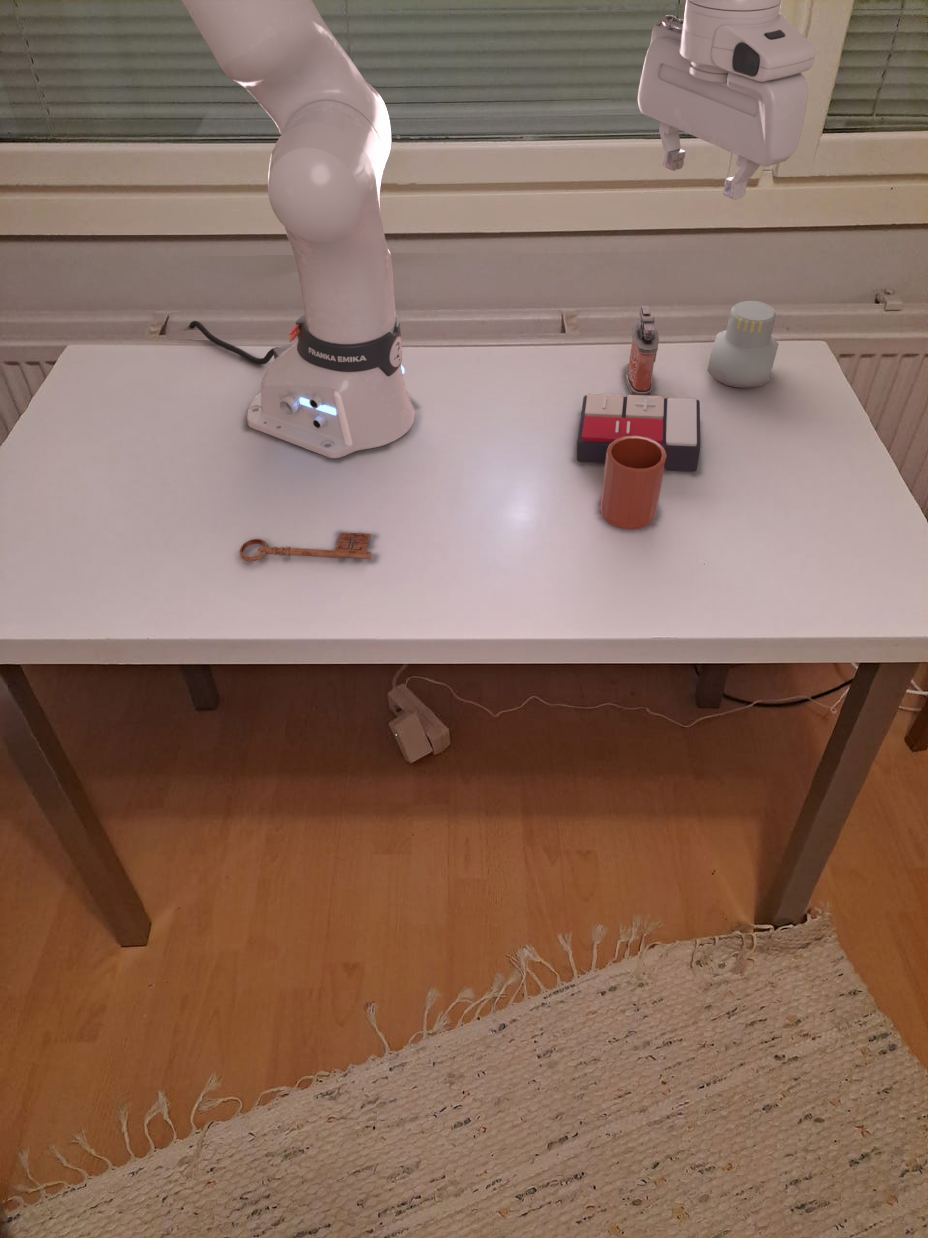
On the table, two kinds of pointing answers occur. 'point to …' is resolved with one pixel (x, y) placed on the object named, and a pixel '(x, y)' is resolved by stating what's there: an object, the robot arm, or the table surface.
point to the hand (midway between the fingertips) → (702, 181)
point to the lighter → (642, 354)
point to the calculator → (641, 426)
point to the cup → (632, 482)
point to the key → (341, 552)
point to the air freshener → (745, 346)
